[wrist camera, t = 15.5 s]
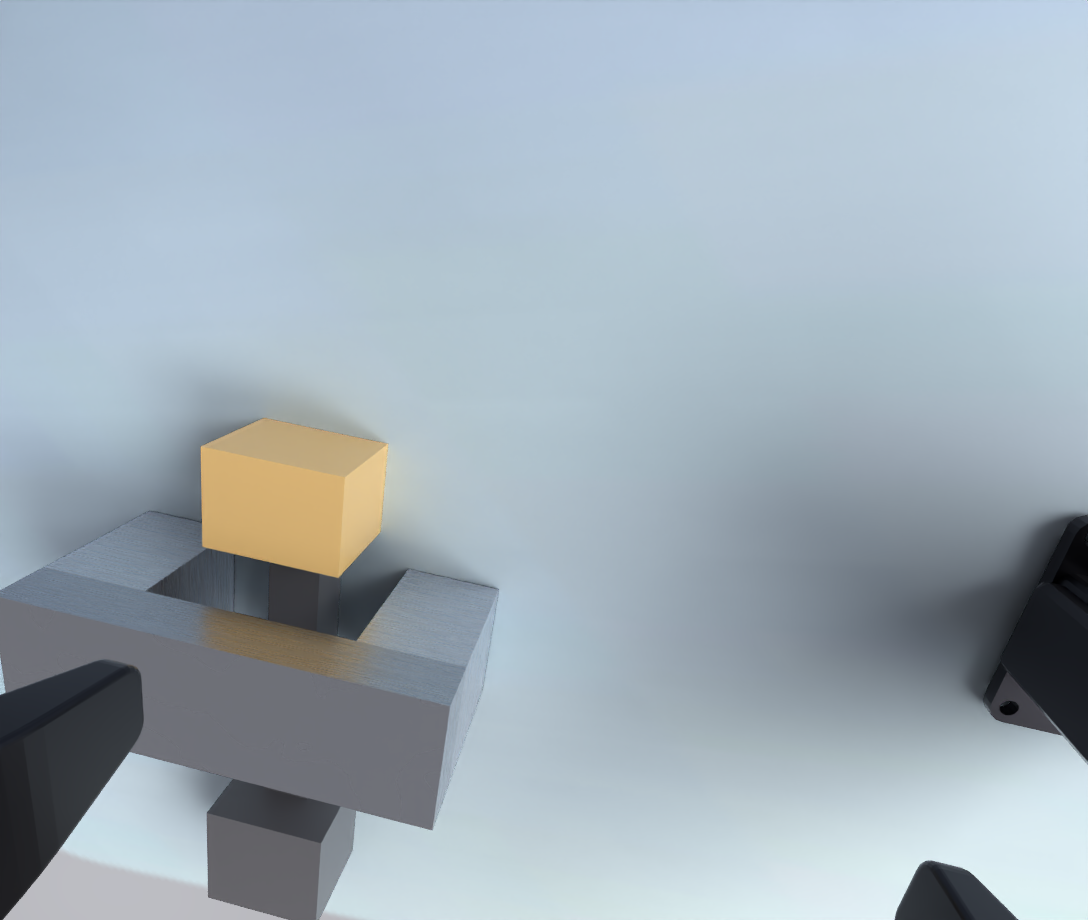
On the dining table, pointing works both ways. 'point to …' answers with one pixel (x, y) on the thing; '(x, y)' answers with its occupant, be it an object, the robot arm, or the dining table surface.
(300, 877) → the plug
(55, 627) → the plate
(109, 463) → the dining table surface
